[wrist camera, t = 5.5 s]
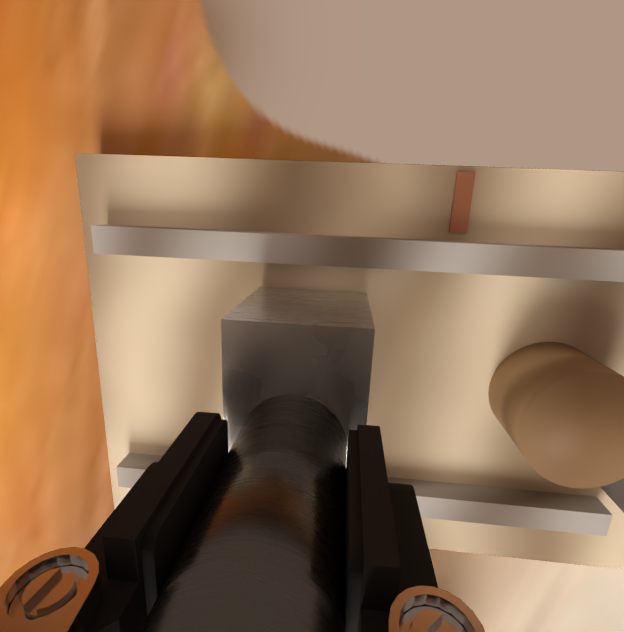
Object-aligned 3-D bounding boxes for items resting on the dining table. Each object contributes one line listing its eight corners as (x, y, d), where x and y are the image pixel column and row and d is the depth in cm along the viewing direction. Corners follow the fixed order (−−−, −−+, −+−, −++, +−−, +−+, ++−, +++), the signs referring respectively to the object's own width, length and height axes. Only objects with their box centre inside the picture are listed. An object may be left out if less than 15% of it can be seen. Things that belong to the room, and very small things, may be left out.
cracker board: (802, 182, 14) (1187, 157, 7) (672, 548, 18) (847, 729, 12) (99, 158, 16) (-66, 122, 9) (131, 492, 20) (32, 622, 14)
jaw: (366, 292, 14) (434, 586, 3) (353, 457, 16) (365, 1015, 5) (259, 286, 15) (-34, 532, 3) (258, 449, 16) (67, 955, 5)
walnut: (611, 348, 14) (678, 381, 11) (583, 443, 15) (637, 496, 12) (500, 335, 15) (537, 366, 12) (479, 430, 16) (508, 479, 13)
